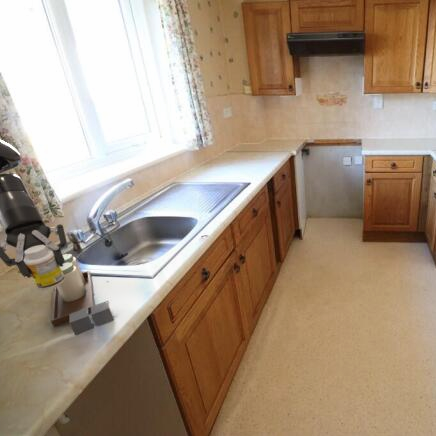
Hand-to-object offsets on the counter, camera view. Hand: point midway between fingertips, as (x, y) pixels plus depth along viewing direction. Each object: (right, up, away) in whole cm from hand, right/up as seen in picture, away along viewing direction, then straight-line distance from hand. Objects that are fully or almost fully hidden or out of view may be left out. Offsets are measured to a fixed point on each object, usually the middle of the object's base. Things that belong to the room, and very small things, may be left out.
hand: (45, 270), depth 78 cm
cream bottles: (-9, -9, +20) cm, 24 cm away
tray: (-6, -11, +17) cm, 21 cm away
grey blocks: (+7, -15, +7) cm, 18 cm away
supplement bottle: (-1, -4, +3) cm, 5 cm away
